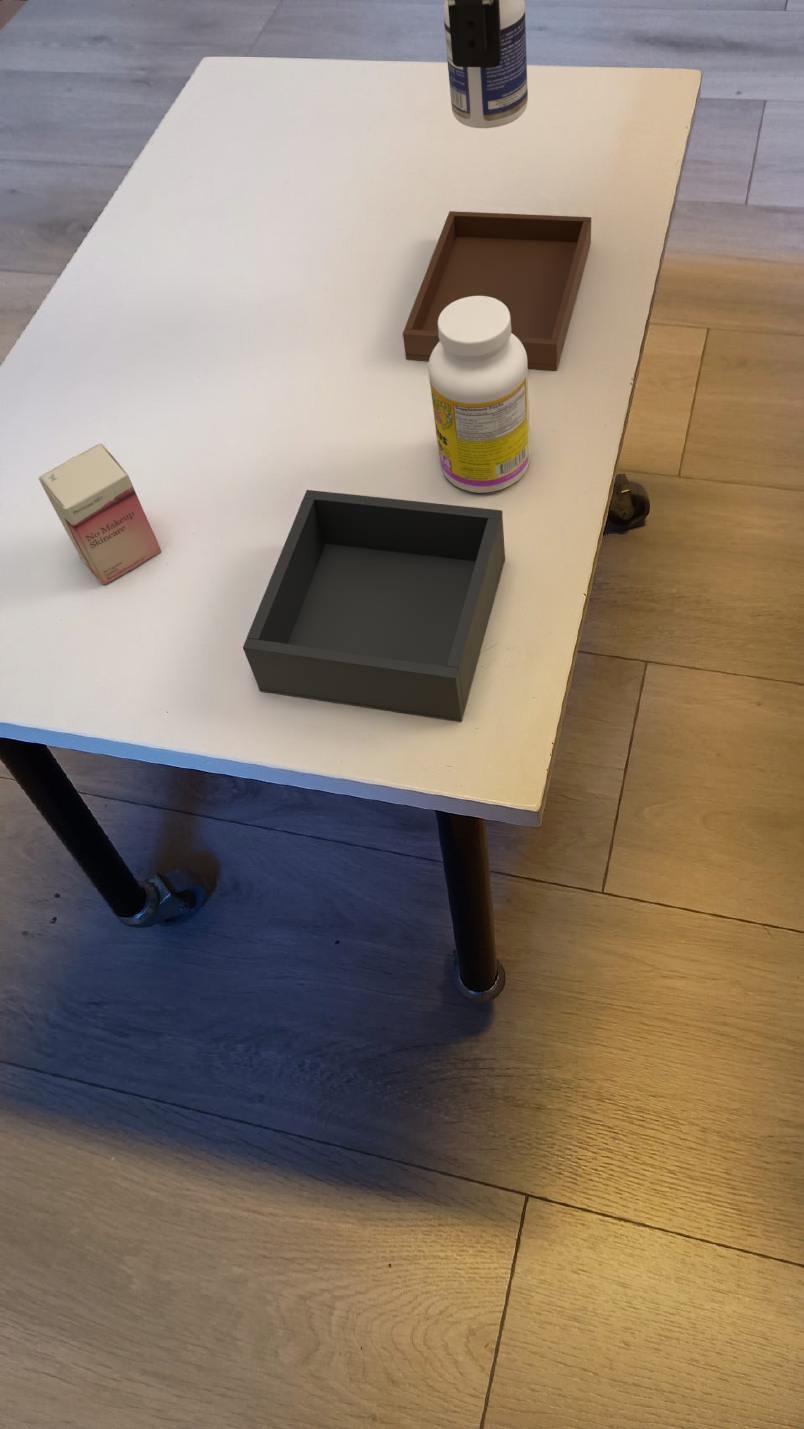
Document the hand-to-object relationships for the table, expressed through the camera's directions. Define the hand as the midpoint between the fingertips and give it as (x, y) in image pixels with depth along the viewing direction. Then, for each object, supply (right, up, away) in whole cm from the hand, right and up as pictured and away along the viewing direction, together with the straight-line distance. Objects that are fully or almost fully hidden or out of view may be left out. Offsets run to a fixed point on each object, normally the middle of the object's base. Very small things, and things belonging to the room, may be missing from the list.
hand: (487, 37), depth 75 cm
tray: (+3, -11, +17) cm, 21 cm away
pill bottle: (+1, -3, +4) cm, 5 cm away
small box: (-26, -34, +7) cm, 43 cm away
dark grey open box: (-7, -39, 0) cm, 40 cm away
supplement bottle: (0, -27, +7) cm, 28 cm away
